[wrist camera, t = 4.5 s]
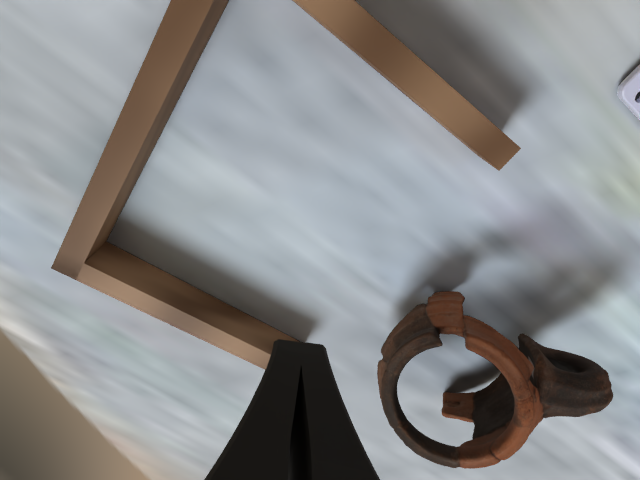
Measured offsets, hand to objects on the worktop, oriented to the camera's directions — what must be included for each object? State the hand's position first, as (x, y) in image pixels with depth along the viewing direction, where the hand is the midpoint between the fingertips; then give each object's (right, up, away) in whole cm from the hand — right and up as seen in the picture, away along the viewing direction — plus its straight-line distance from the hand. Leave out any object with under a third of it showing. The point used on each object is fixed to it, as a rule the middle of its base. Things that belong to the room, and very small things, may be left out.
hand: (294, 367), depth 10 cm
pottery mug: (+10, -3, +14) cm, 17 cm away
